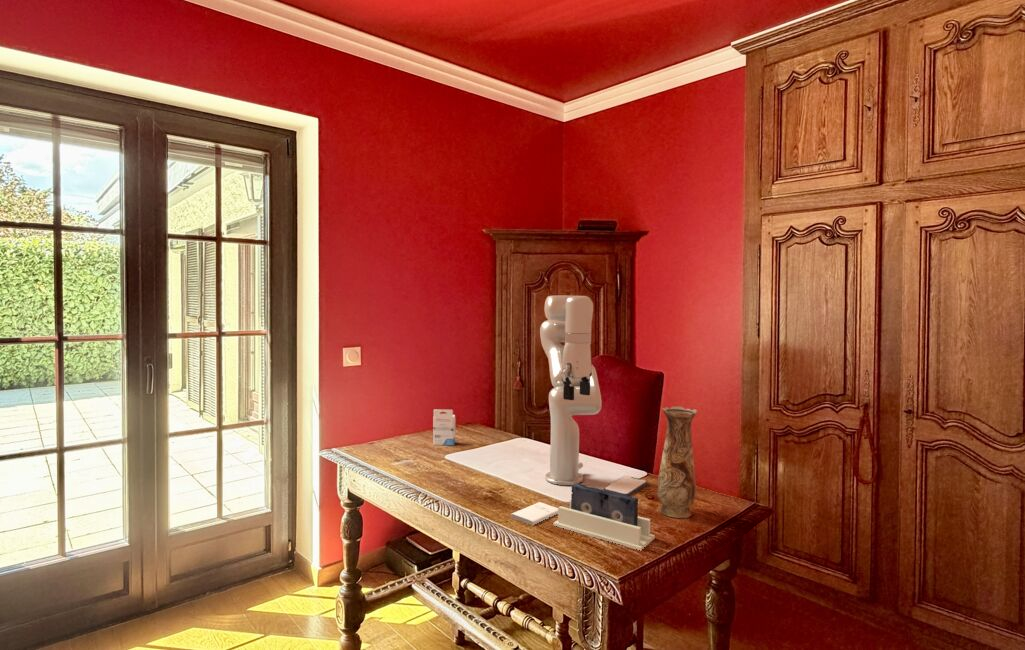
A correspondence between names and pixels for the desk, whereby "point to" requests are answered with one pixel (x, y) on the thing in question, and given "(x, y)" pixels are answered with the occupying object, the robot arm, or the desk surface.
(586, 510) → the vhs cassette tape
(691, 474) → the vase
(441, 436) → the ink box
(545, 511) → the external hard drive
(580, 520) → the rack
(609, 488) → the phone case
